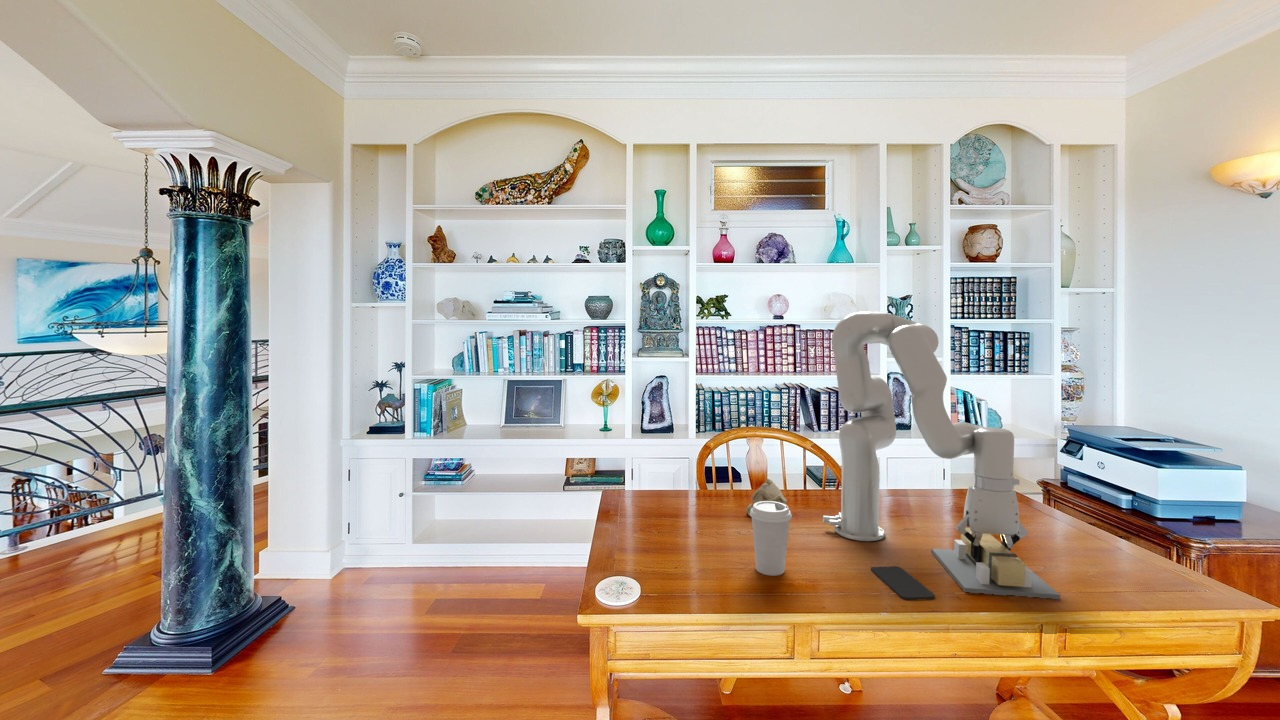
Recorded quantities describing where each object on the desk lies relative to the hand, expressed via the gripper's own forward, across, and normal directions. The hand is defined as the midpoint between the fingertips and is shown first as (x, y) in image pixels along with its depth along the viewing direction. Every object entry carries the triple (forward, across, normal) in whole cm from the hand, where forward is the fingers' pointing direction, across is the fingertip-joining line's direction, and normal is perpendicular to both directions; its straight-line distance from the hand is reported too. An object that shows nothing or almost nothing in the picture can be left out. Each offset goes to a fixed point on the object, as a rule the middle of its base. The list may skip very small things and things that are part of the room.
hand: (990, 561), depth 126 cm
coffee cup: (+3, +49, +6) cm, 49 cm away
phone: (+3, +21, +8) cm, 23 cm away
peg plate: (+3, 0, 0) cm, 3 cm away
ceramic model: (+3, +48, -35) cm, 59 cm away
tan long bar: (+1, 0, 0) cm, 1 cm away
